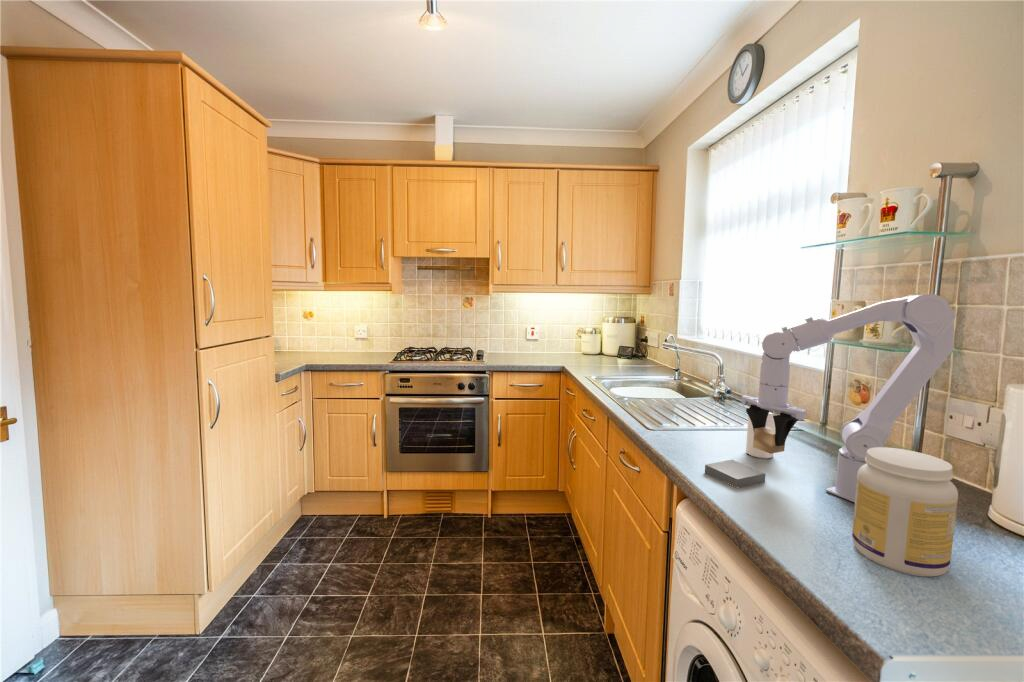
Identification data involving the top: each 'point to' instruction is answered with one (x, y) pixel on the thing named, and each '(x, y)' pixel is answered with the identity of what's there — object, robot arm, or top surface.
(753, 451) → the can
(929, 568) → the supplement tub
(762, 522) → the top surface
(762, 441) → the oak block
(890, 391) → the robot arm
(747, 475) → the slate base
